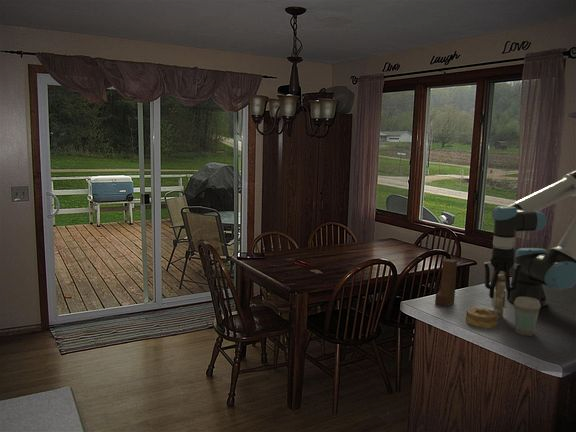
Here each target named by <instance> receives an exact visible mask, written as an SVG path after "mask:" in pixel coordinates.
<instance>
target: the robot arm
mask: <svg viewBox="0 0 576 432" xmlns="http://www.w3.org/2000/svg"><path fill="white" fill-rule="evenodd" d="M569 197H576V169H575V170H573V171H571V172H568V173H567V174H565V175H562V176H561V178H560V180H557V181H556V182H553V183H552V184H550V185H547V186H545V187H543V188H542V189H538V190H537V191H535V192H533V193H531V194H529V195H527V196H525V197H523V198H521V199H517V200H516V201H515V202H512V203H510V204H508V205H498V206H495V207H494V209H493V210H492V212H491V218H492V221H493V222H494V223H493V224H494V226H493V239H492V245H493V247H492V251H491V259H490V260H489V261H484V262H483V264H482V265H483V267H484V286H485V287H484V288H486V289H488V290H489V292H488V293H489V295H488V296H489V298H490V299H491V303H490V305H491V307H492V308H494V307H495V302H496V290H495V285H496V282H497V278H498V274H500V272H503V275H505V276H506V282H505V294H504V306H503V309H507V305H508V304H507V303H508V302H510V303H512V304H514V301H515V299H516V298H517V297H531V298H534V299H537V300H539V302H540V305H541V308H542V307H546V306H547V304H548V298H547V294H546V291H545V286H547V287H549V288H552V289H556V290H561V291H565V290H569V289H571V288H573V287H574V286H575V285H576V216H575V217H574V218H573V220H572V221H571V223H570V224H569V226H568V228H567V230H565V233H564V234H563V236H562V237H561V238H560V240H559V242H558V243H557V245H556V246H555V247H550V249H549V250H547V249H545V248H540V247H539V248H538V247H521V248H517V249H516V251H515V249H514V248H515V245H516V244H515V243H516V233H517V232H538V231H542V230H544V228H545V227H546V225H547V217H546V215H545V213H544V212H542V210H544V209H547V208H548V207H550V206H552V205H554V204H556V203H558V202H560V201H563V200H565V199H567V198H569ZM491 266H492V267H493V271H492V273H493V274H492V277H490V276H491V275H490V273H491V272H490V268H491ZM511 268H513V270H512V276H511V279H510V270H511ZM490 278H491V279H490ZM507 301H508V302H507Z"/></svg>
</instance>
